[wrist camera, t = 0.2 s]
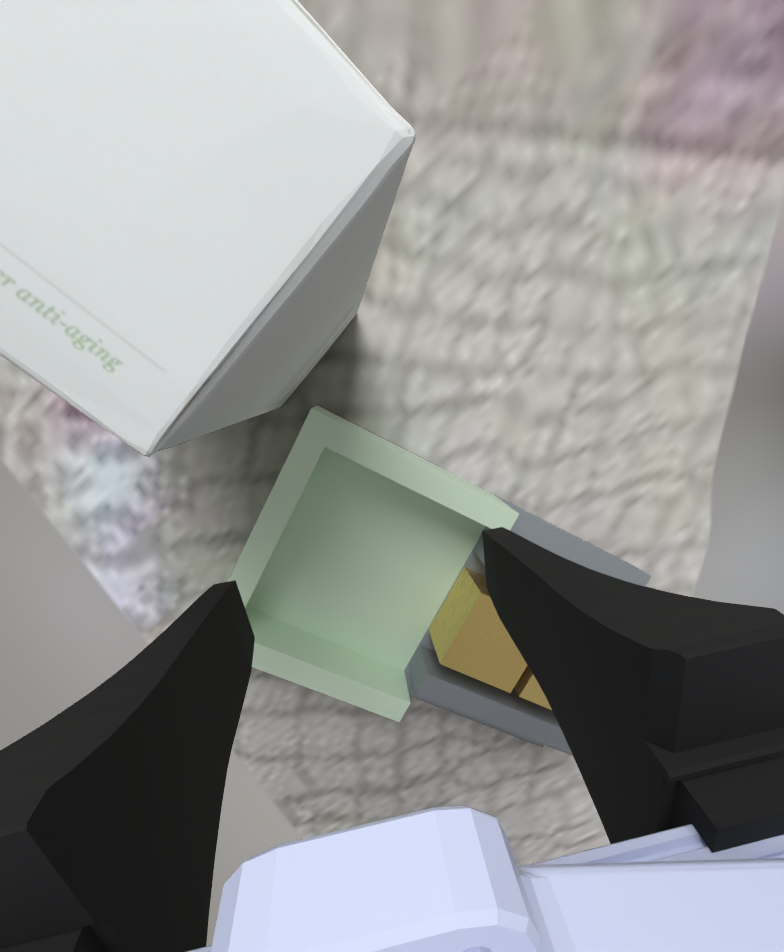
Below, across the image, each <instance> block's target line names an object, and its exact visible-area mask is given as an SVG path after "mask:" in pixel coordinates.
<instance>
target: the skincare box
mask: <svg viewBox="0 0 784 952" xmlns="http://www.w3.org/2000/svg"><path fill="white" fill-rule="evenodd" d="M414 141H415V131H414V130H413V128H412V127H411V126H410V124H409V123H408V122H406V121H405V120H404V119H403V118H402V117H401V116H400V115H399V114H398V113H397V112H396V111H395V110H394V109H393V108H392V107H391V106H390V105H389V104H388V103H387V102H386V100H385V99H384V98H383V97H382V96H381V95H380V94H379V93H378V91H377V90H376V89H375V88H374V87H373V86H372V85H371V83H370V82H369V81H368V80H367V79H366V78H365V77H364V75H363V74H362V73H361V72H360V71H359V70H358V69H357V67H356V66H355V65H354V64H353V63H352V62H351V61H350V60H349V58H348V57H347V56H346V55H345V54H344V53H343V52H342V50H341V49H340V48H339V47H338V46H337V45H336V44H335V42H334V41H333V40H332V39H331V38H330V37H329V36H328V35H327V33H326V32H325V31H324V30H323V29H322V28H321V27H320V25H319V24H318V23H317V22H316V21H315V20H314V19H313V17H312V16H311V15H310V14H309V13H308V12H307V11H306V9H305V8H304V7H303V6H302V5H301V4H300V3H299V2H298V0H0V356H2V357H3V358H5V359H6V360H8V361H9V362H10V363H12V364H13V365H15V366H16V367H17V368H19V369H20V370H22V371H23V372H25V373H26V374H27V375H29V376H30V377H32V378H33V379H34V380H36V381H37V382H39V383H40V384H41V385H43V386H44V387H46V388H47V389H49V390H50V391H51V392H53V393H54V394H56V395H57V396H59V397H60V398H61V399H63V400H64V401H66V402H67V403H69V404H70V405H71V406H73V407H74V408H76V409H77V410H79V411H80V412H81V413H83V414H84V415H86V416H87V417H89V418H90V419H92V420H93V421H94V422H96V423H97V424H99V425H100V426H102V427H103V428H105V429H106V430H107V431H109V432H110V433H112V434H113V435H115V436H116V437H118V438H119V439H120V440H122V441H123V442H125V443H126V444H127V445H129V446H130V447H132V448H133V449H135V450H136V451H138V452H139V453H141V454H142V455H144V456H148V457H150V456H151V455H152V454H154V453H155V452H157V451H160V450H164V449H167V448H170V447H173V446H175V445H178V444H181V443H183V442H186V441H189V440H192V439H194V438H197V437H200V436H202V435H205V434H207V433H211V432H213V431H216V430H219V429H222V428H224V427H227V426H230V425H233V424H236V423H239V422H241V421H244V420H247V419H250V418H252V417H255V416H258V415H261V414H264V413H267V412H269V411H272V410H274V409H278V408H280V407H281V406H282V405H283V404H284V403H285V401H286V400H287V399H288V398H289V397H290V396H291V394H292V393H293V392H294V391H295V390H296V388H297V387H298V386H299V385H300V384H301V382H302V381H303V380H304V379H305V378H306V376H307V375H308V374H309V373H310V371H311V370H312V369H313V368H314V367H315V365H316V364H317V363H318V362H319V360H320V359H321V358H322V357H323V356H324V354H325V353H326V352H327V350H328V349H329V348H330V347H331V345H332V344H333V343H334V342H335V340H336V339H337V338H338V337H339V335H340V334H341V333H342V332H343V330H344V329H345V328H346V327H347V325H348V324H349V323H350V322H351V320H352V319H353V318H354V317H355V315H356V314H357V311H358V308H359V305H360V303H361V300H362V297H363V294H364V290H365V287H366V284H367V281H368V278H369V275H370V272H371V269H372V266H373V263H374V260H375V257H376V254H377V251H378V247H379V244H380V241H381V238H382V235H383V232H384V229H385V226H386V223H387V220H388V218H389V215H390V212H391V209H392V206H393V203H394V200H395V197H396V193H397V190H398V187H399V184H400V181H401V179H402V176H403V173H404V169H405V166H406V163H407V160H408V158H409V155H410V152H411V149H412V147H413V144H414Z"/></svg>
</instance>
